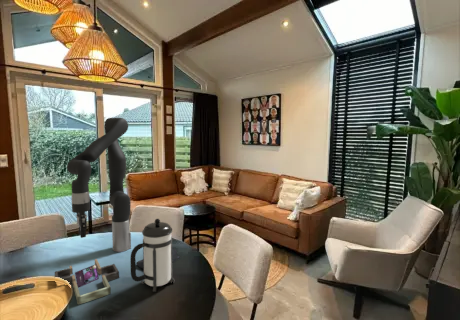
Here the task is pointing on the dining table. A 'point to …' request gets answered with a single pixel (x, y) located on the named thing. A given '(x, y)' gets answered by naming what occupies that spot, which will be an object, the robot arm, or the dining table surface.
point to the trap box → (107, 275)
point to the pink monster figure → (85, 276)
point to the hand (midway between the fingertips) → (82, 235)
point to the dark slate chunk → (174, 258)
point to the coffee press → (155, 255)
